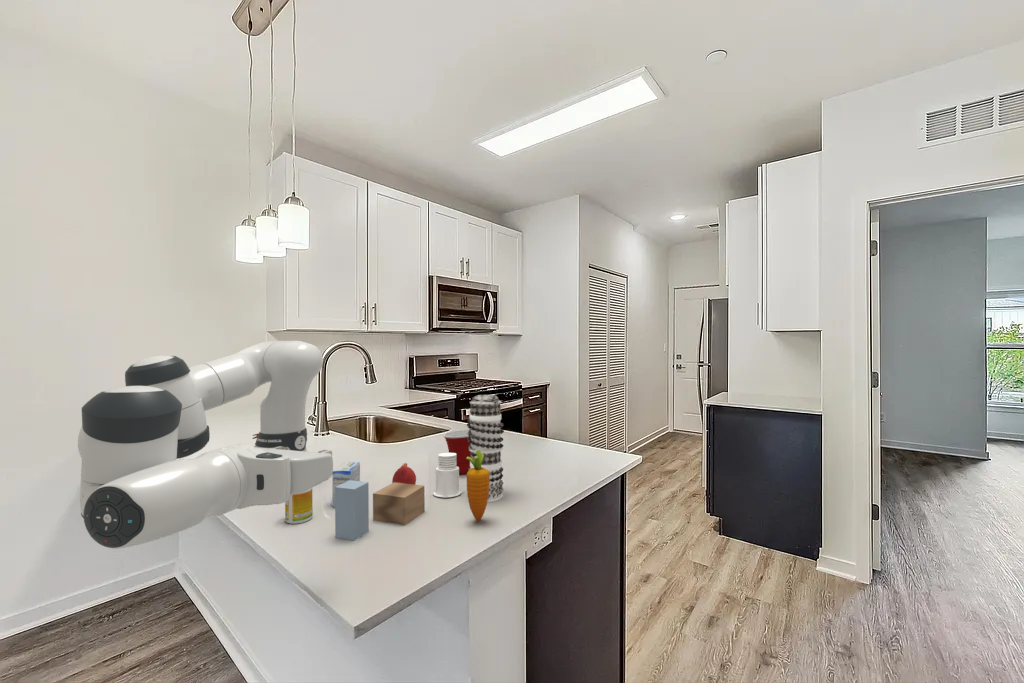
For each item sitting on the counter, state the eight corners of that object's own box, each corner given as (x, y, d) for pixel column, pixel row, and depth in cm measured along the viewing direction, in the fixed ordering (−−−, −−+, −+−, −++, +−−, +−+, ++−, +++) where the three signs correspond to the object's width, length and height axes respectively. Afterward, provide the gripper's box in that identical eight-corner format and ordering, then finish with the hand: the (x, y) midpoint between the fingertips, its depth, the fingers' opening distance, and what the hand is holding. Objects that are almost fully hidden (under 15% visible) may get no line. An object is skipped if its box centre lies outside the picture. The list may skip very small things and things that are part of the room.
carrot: (480, 528, 92) (480, 455, 92) (461, 523, 94) (461, 452, 94) (494, 519, 96) (494, 450, 96) (475, 515, 98) (475, 447, 98)
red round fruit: (410, 499, 108) (409, 467, 108) (388, 498, 109) (388, 465, 109) (419, 491, 114) (419, 460, 114) (398, 490, 115) (398, 459, 115)
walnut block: (373, 521, 96) (372, 493, 96) (394, 507, 104) (394, 482, 104) (405, 526, 93) (404, 497, 93) (424, 512, 101) (424, 485, 101)
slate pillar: (335, 537, 88) (335, 487, 88) (350, 528, 92) (349, 480, 92) (354, 540, 86) (354, 489, 86) (368, 531, 91) (368, 482, 91)
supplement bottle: (317, 515, 99) (317, 472, 99) (301, 525, 94) (301, 479, 94) (297, 513, 100) (296, 470, 100) (279, 523, 95) (279, 477, 95)
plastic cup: (449, 466, 137) (448, 427, 137) (483, 467, 136) (483, 428, 135) (438, 476, 126) (438, 434, 126) (475, 478, 125) (475, 435, 125)
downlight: (459, 499, 108) (459, 457, 109) (430, 499, 108) (430, 457, 109) (463, 489, 116) (463, 451, 117) (436, 489, 116) (436, 451, 117)
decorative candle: (459, 496, 110) (458, 396, 110) (486, 487, 117) (485, 392, 117) (485, 505, 104) (484, 399, 104) (511, 495, 111) (511, 395, 111)
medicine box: (342, 496, 111) (341, 461, 111) (360, 495, 111) (360, 461, 111) (332, 508, 103) (331, 471, 103) (351, 507, 104) (351, 470, 104)
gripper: (183, 491, 67) (260, 466, 81) (291, 505, 61) (355, 475, 74) (182, 449, 67) (259, 431, 81) (290, 459, 61) (355, 438, 74)
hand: (306, 452), depth 77 cm, fingers open, 8 cm apart
